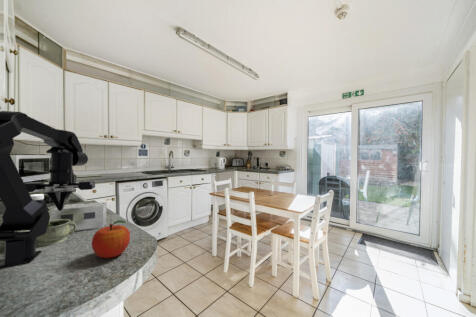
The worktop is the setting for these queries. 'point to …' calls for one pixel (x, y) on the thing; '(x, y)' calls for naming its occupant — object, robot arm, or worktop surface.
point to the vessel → (56, 232)
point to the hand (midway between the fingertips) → (60, 210)
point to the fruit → (111, 240)
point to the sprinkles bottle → (37, 197)
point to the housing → (83, 215)
